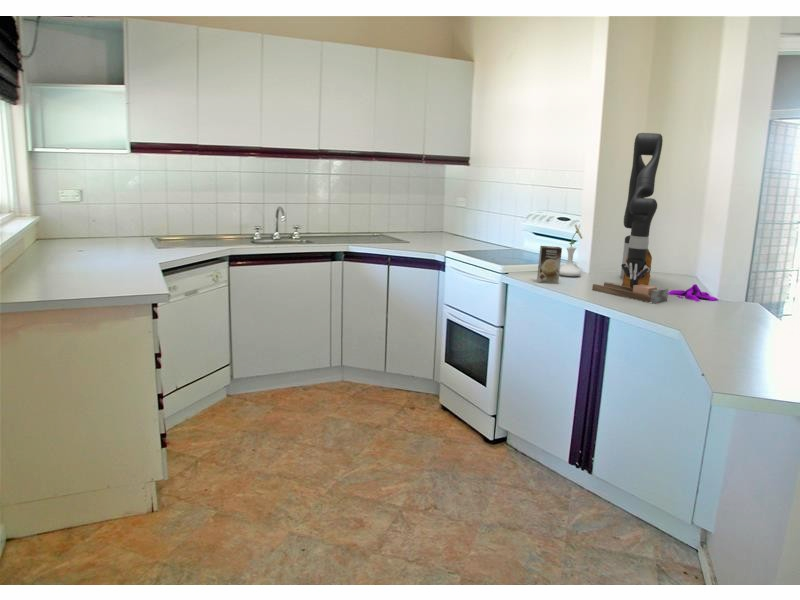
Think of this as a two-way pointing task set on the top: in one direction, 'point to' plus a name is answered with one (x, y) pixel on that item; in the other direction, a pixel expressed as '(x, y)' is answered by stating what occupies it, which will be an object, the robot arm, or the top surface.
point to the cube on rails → (628, 292)
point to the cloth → (693, 294)
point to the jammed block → (644, 289)
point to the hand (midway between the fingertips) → (633, 287)
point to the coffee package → (644, 280)
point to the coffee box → (549, 264)
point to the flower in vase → (570, 260)
